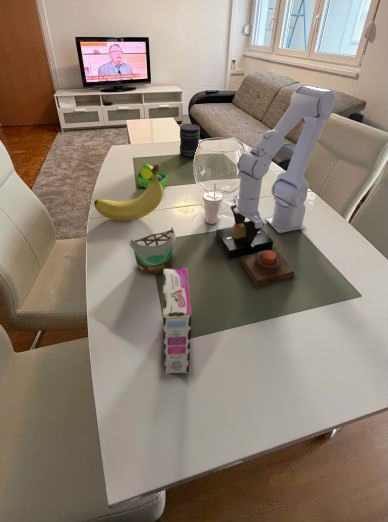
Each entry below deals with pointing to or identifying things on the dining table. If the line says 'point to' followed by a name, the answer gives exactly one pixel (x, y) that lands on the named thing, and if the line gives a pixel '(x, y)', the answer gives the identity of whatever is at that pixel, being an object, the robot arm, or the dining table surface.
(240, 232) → the tap lever
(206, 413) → the dining table surface
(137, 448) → the dining table surface
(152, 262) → the food container
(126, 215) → the banana
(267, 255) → the button
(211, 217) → the smoothie
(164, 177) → the fruit basket
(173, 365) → the candy bar box
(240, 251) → the base
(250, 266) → the block
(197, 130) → the storage jar
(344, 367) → the dining table surface
